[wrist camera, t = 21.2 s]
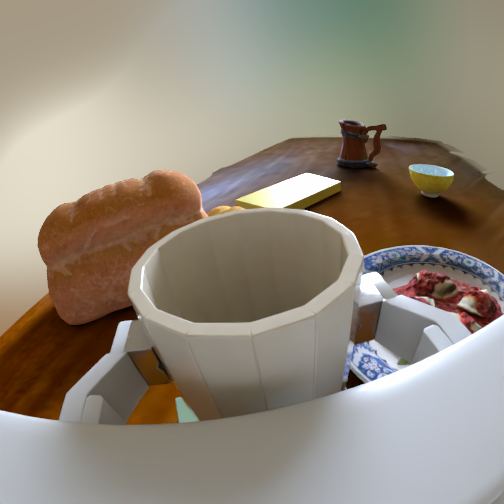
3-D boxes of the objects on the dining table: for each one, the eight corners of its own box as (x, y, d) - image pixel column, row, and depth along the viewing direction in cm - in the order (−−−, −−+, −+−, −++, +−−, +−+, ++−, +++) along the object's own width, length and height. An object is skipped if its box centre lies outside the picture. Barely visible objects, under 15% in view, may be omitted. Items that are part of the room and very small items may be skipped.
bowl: (412, 184, 63) (413, 161, 60) (452, 192, 56) (454, 169, 53) (403, 196, 56) (404, 170, 53) (450, 206, 49) (453, 179, 46)
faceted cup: (363, 432, 9) (414, 275, 5) (219, 483, 8) (117, 369, 4) (305, 341, 15) (298, 196, 11) (193, 374, 13) (137, 234, 10)
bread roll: (223, 216, 58) (219, 198, 56) (259, 221, 53) (256, 201, 51) (195, 233, 52) (191, 214, 51) (233, 241, 48) (229, 219, 46)
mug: (394, 167, 79) (393, 121, 72) (377, 173, 74) (376, 123, 67) (349, 159, 92) (347, 118, 85) (330, 164, 87) (327, 120, 80)
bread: (69, 290, 41) (34, 208, 33) (204, 239, 50) (186, 155, 42) (62, 339, 30) (9, 238, 22) (236, 273, 39) (215, 163, 32)
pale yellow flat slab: (277, 221, 52) (345, 188, 65) (276, 210, 51) (345, 179, 64) (237, 209, 61) (307, 180, 73) (235, 199, 60) (306, 172, 72)
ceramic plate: (405, 240, 40) (408, 223, 38) (543, 309, 20) (551, 291, 18) (275, 321, 30) (272, 300, 28) (470, 480, 10) (490, 468, 8)
